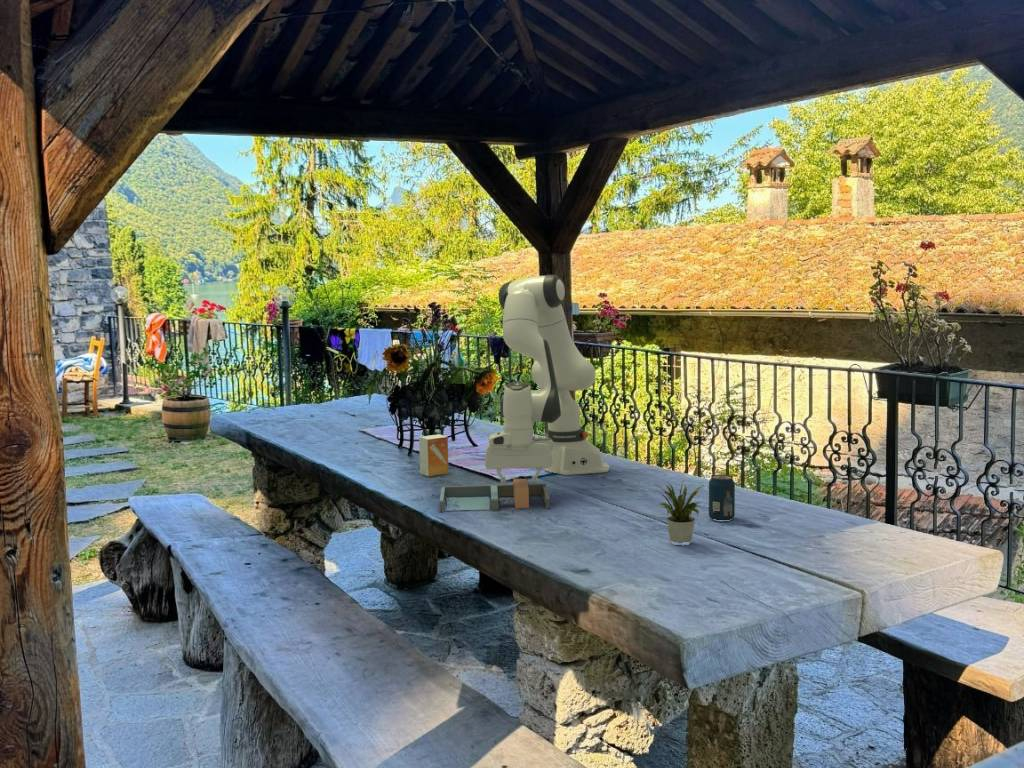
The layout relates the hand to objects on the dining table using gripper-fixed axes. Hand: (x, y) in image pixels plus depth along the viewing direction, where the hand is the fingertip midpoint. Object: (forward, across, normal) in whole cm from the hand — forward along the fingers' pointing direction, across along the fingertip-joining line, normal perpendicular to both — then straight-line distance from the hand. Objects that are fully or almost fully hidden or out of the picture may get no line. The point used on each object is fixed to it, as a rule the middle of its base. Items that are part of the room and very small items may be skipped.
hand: (518, 482), depth 276 cm
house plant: (+6, -38, +44) cm, 59 cm away
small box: (+6, +28, -43) cm, 52 cm away
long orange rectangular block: (+6, -1, 0) cm, 6 cm away
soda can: (+6, -55, +24) cm, 60 cm away
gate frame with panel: (+6, +7, 0) cm, 10 cm away
